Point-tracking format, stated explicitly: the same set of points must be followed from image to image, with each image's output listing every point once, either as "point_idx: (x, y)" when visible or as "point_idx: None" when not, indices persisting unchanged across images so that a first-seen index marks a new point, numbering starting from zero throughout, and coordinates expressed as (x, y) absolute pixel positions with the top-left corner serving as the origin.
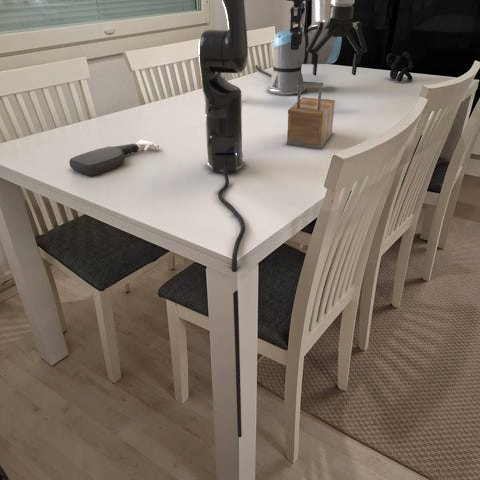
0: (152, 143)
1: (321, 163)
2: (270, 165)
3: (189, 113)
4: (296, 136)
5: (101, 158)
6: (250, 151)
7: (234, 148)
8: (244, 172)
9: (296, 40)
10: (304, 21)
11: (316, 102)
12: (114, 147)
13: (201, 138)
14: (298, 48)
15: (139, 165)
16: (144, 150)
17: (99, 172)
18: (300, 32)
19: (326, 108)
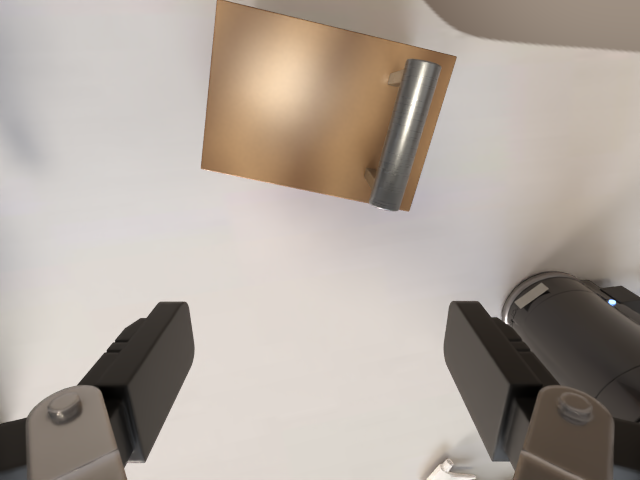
0: (446, 476)
1: (538, 57)
2: (544, 206)
3: (161, 464)
4: None
5: None
6: (442, 270)
7: (638, 314)
8: (586, 261)
9: (534, 368)
10: (108, 477)
11: (279, 97)
12: None
13: (354, 395)
14: (479, 304)
15: None
16: (475, 476)
17: None
18: (582, 398)
19: (375, 41)
